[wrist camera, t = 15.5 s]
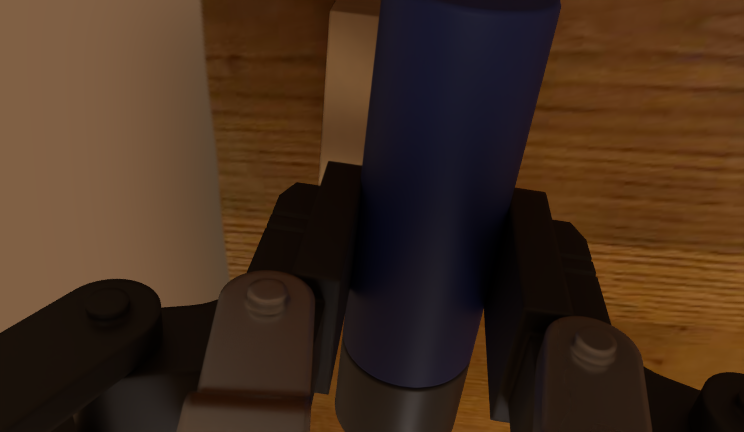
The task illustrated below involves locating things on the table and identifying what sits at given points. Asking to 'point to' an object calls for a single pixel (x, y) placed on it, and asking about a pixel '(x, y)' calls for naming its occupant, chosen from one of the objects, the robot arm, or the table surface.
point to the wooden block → (348, 80)
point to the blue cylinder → (435, 200)
